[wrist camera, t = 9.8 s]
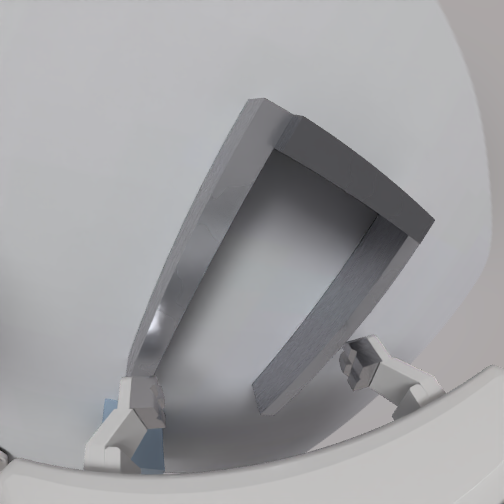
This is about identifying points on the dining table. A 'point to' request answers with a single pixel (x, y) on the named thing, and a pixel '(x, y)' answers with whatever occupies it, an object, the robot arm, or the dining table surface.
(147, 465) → the block
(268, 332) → the dining table surface
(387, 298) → the dining table surface
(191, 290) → the grey u-shaped piece
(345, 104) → the dining table surface
